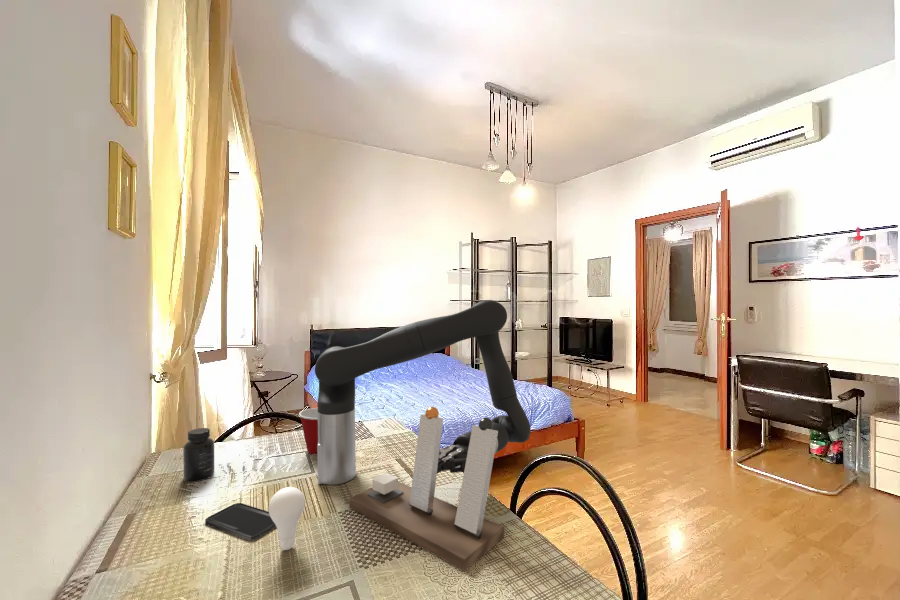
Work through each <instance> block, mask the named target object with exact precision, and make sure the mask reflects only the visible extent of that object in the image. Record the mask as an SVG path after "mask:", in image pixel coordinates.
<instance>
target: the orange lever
mask: <svg viewBox="0 0 900 600" xmlns="http://www.w3.org/2000/svg"><path fill="white" fill-rule="evenodd" d="M439 414H440V413H439V410H438V408H437V407H435V406H429V407H427V409H425V414H424V413H423V414H420V417H419V425H418V432H417V441H416V448H415V458H414V467H413V474H412V481H411V482H412V483H411V487H412V488H411V496H410V502H409V506H411V507H413V508H415V509H417V510H420V511H422V512H424V513H426V514H428V515H432V513H433V502H434V497H435V491H436V486H437V485H436V483H437V475H438V474H437V467H438V458H439V450H440V449H441V448H440V447H441V439H442V430H443V421H444V418H442V417H439Z"/></svg>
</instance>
